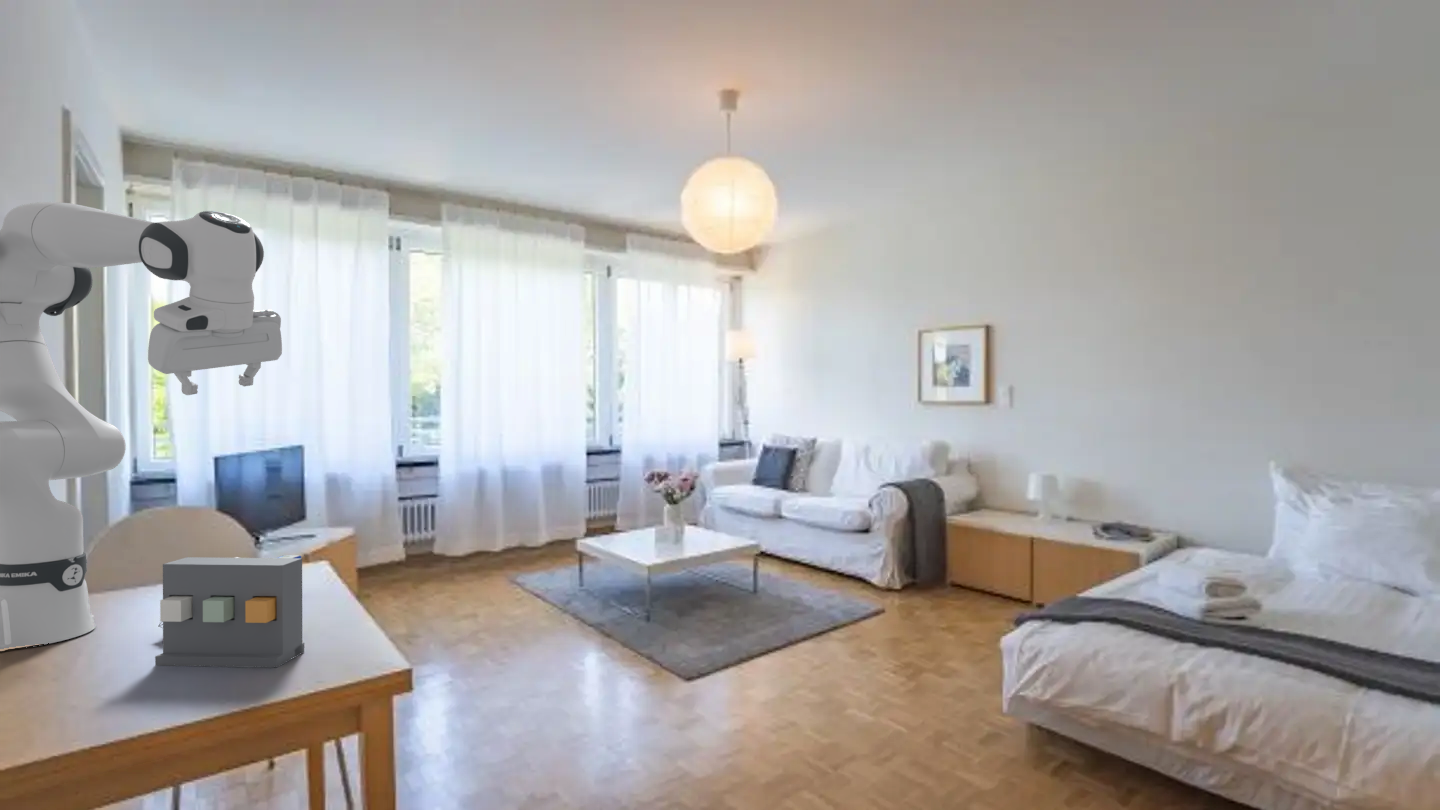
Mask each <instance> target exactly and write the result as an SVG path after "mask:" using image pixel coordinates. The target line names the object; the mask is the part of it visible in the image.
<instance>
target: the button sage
mask: <svg viewBox="0 0 1440 810" xmlns="http://www.w3.org/2000/svg"><path fill="white" fill-rule="evenodd" d="M232 618H235V596H214V597H212V598H209V599H206V600H203V622H225V621H228V620H230V619H232Z"/></svg>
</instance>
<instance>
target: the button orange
mask: <svg viewBox="0 0 1440 810" xmlns="http://www.w3.org/2000/svg"><path fill="white" fill-rule="evenodd" d="M245 616H246V623H267V622H269V621H271V620H274V619H276V618H277V596H257V597H255V598H252V599H250V600H247V601H245Z"/></svg>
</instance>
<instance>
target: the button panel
mask: <svg viewBox="0 0 1440 810" xmlns="http://www.w3.org/2000/svg"><path fill="white" fill-rule="evenodd" d="M174 595H193V617H192V618H189V619H187V620H184V621H182V622H166V621H163V622H162V624H163V625H162V627H163V628H162V653H160V654H157V655H155V657H154V658H155V659H154V661H155V664H154V665H155V667H157V666H159V667H165V666H166V667H217V668H219V667H221V668H223V667H224V668H225V667H226V668H227V667H228V668H231V667H232V668H233V667H234V668H274V667H277V668H278V667H280V666H282V665H284V664H286V663H287V662H289V661H291V660H292V659H294V658H296V657H298V656H300V655H301V654H302V652H303V653H304V652H305V642H303V558H302V557H301V558H278V557H239V558H235V557H205V556H204V557H203V556H201V557H199V556H196V557H195V556H193V557H192V556H191V557H190V556H189V557H188V556H187V557H183V558H179V559H176V560H173V561H169V562H166V563H163V564H162V599H165V598H168V597H171V596H174ZM214 596H235V618H232V619H230V620H228V621H225V622H203V600H206V599H209V598H212V597H214ZM257 596H277V618H276V619H274V620H271V621H269V622H267V623H246V616H245V601H247V600H250V599H252V598H255V597H257ZM300 653H301V654H300ZM297 655H298V656H297ZM295 656H296V657H295ZM293 657H294V658H293ZM291 658H292V659H291ZM290 659H291V660H290ZM288 660H289V661H288ZM286 661H287V662H286ZM283 663H284V664H283ZM281 664H282V665H281ZM279 665H280V666H279Z"/></svg>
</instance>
